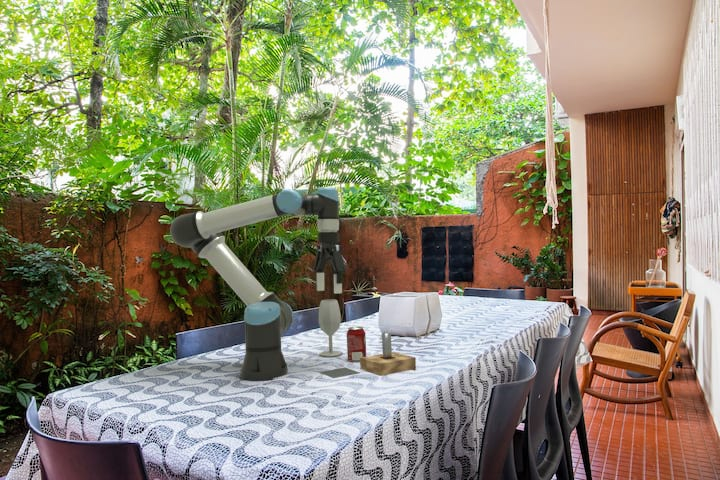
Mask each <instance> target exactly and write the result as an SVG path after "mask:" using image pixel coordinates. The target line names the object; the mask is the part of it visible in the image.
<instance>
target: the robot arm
mask: <svg viewBox="0 0 720 480" xmlns="http://www.w3.org/2000/svg"><path fill="white" fill-rule="evenodd" d="M339 209H340V200H339V191H338V189H337V188H335V187H319V188H318V189H317V192H316V193H311V194H308V193H307V194H305V193H300V192H298V191H297V190H295V189H291V188H286V189H282V190H281V191H279V192H278V193H275V194H271V195H267V196H264V197H259V198H256V199H252V200H248V201H245V202H240V203H236V204H233V205H229V206H226V207H223V208H219V209H215V210H210V211H208V212H203V211H201V210H199V211H194V212H191V213H190V212H189V213H185V214H181V215H179V216H177V217H176V218H175V219H174V220H172V222H171V225H170V228H169V234H170V238H171V239H172V240H173V242H174V243H175V244H176V245H178V246H179V247H182V248H188V249H189V248H190V249H191V250H192V251H193V252H194V253H195V254H196V256H197V257H198V258H199V259H206V260H207V261H208V263H209V264H210V265H211V266H212V268H214V270H215V271H216V272H217V273H218V274H219V275H220V276H221V278H222V279H223V280H224V281H225V282H226V284H227V285H228V286H229V287H230V289H232V291H233V292H234V293H235V294H236V295H237V297H239V299H240V300H241V301H242V302H243V303H244V304H245V306H246V307H245V309H244V315H243V320H244V340H245V341H244V342H245V355H244V356H243V357H244V358H243V361H242V365H241V368H240V378H241V379H243V380H247V381H269V380H274V379H276V378H277V379H278V378H280V377H283V376H286V375H287V374H288V364H287V362H286V359H285V357H284V354H283V350H282V335H284V334H286V332H287V331H289V330H290V328H291V326H292V324H294V323H293V322H294V312H293V309H292V307H291V306H290V305H289V304H288V303H286V302H285V301H284V300H283V301H281V300H280V299H279V297H278V296H277V295H276V294H275V293H274V292H272V291H267V290H266V289H265V287H263V285H262V284H261V283H260V282H259V281H258V280H257V278H256V277H255V276H254V275H253V274H252V273H251V271H250V270H249V269H248V268H247V267H246V266H245V265H244V264H243V262H242V261H241V260H240V259H239V258H238V257H237V256H236V254H235V253H234V252H233V251H232V250H231V249H230V247H229V246H228V245H227V244H226V236H225V235H224V234H223V233H222V232H227V231H229V230H233V229H237V228H240V227H241V228H242V227H244V226H248V225H252V224H256V223H260V222H263V221H268V220H270V219H274V218H275V219H276V218H278V217H282V216H288V217H289V216H290V217H291V216H292V217H299V216H317V231H318V233H317V242H318V244H321V245H317V246H316V256H315V259H314V265H313V272H314V271H315V273H316V291H317V292H320V291H321V292H323V291H325V266H326V265H327V262H328V260H330V263H331V266H332V269H333V271H334V272H333V294H342V293H343V274H344V273H345V272H346V267H345V262H344V259H343V254H342V247H341V245H339V242H340V233H339V232H338V231H339V230H340V221H339V219H340V216H339V215H340V214H339V212H340V210H339Z"/></svg>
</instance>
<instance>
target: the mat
mask: <svg viewBox="0 0 720 480" xmlns="http://www.w3.org/2000/svg"><path fill="white" fill-rule="evenodd" d="M318 373H320V374H322V375H325V376H327V377H329V378H332V379H338V378H341V377H347V376H352V375H357V374H358V375H359V374H361V372H360V371H356V370H354V369H351V368H348V367H340V368H334V369H328V370H322V371H319V372H318Z"/></svg>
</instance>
